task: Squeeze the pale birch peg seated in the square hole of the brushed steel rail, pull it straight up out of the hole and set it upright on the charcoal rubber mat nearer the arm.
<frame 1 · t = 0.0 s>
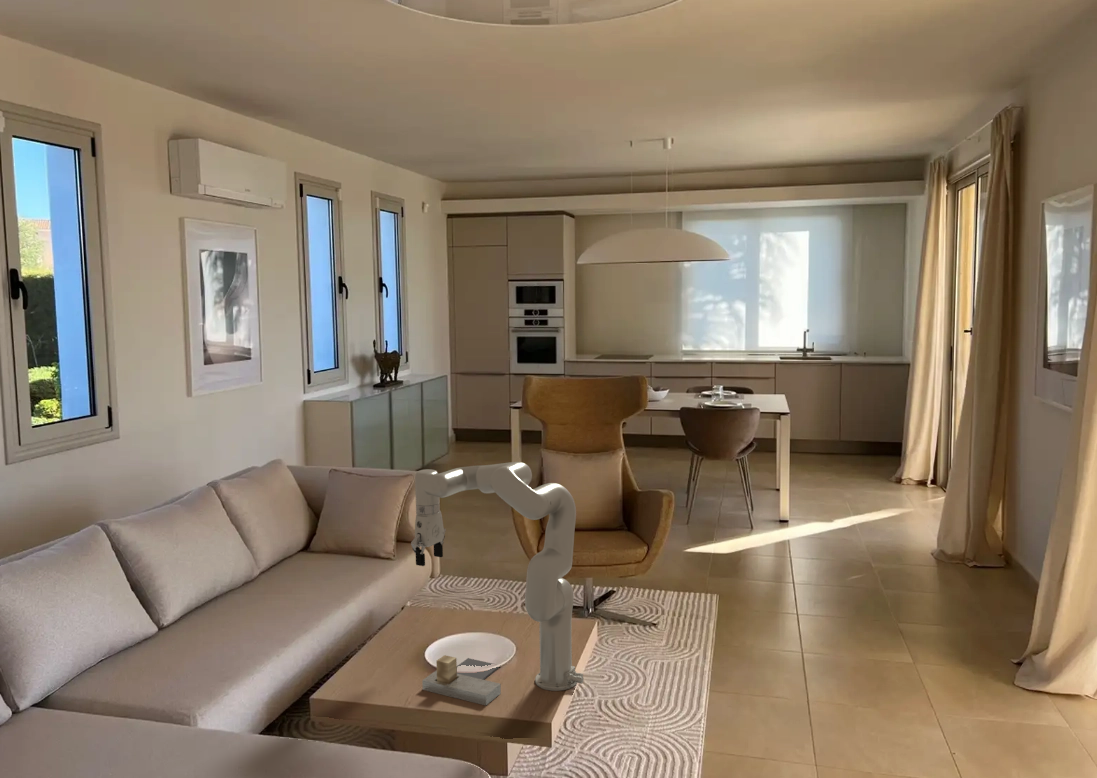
hand: (429, 560, 269), 31 cm above the table, tool pointing down, fingers open, 9 cm apart
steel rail: (461, 691, 246), on the table
birch peg: (447, 688, 249), resting in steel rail
charcoal mat: (473, 671, 260), on the table
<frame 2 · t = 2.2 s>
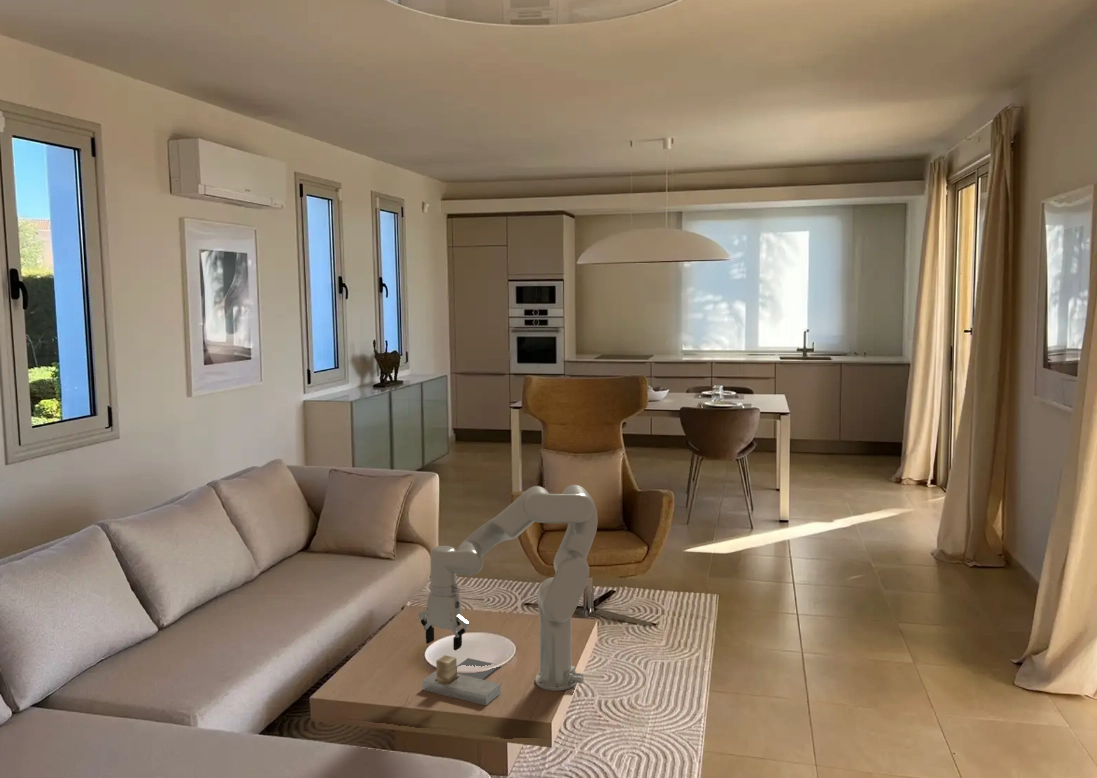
hand: (443, 645, 247), 13 cm above the table, tool pointing down, fingers open, 9 cm apart
nothing on the table moved.
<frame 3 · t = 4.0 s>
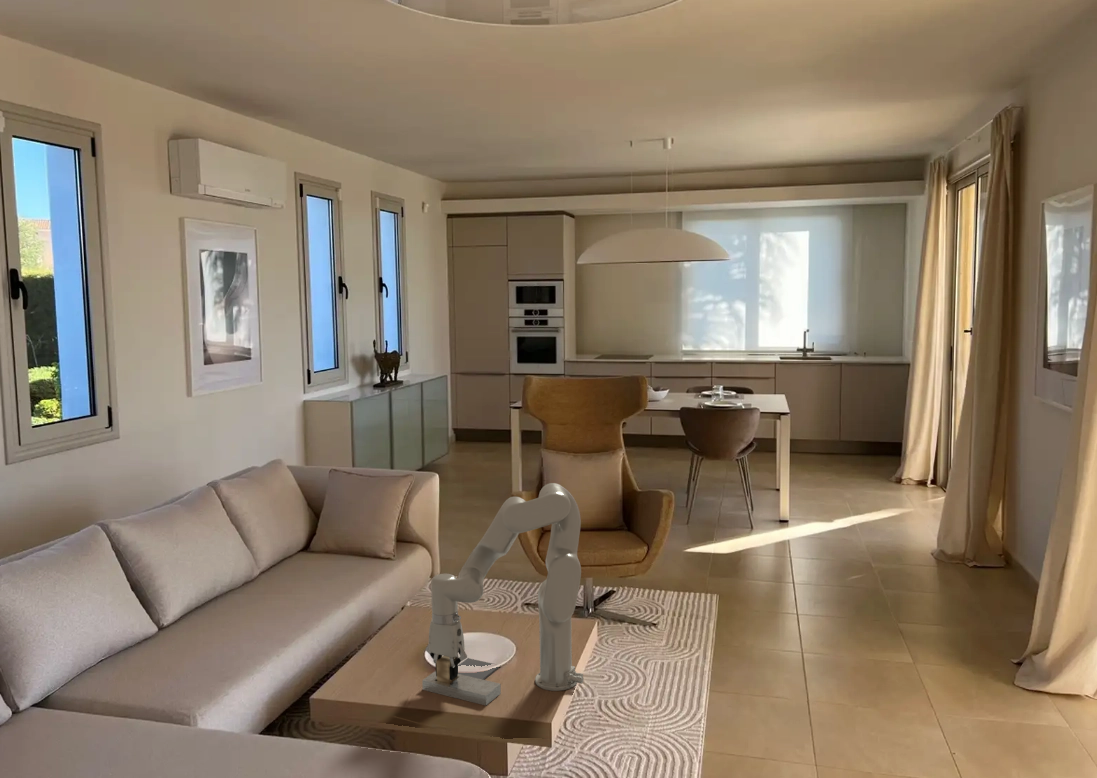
hand: (446, 675, 248), 4 cm above the table, tool pointing down, fingers closed on birch peg, 4 cm apart
birch peg: (447, 688, 249), resting in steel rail, touching gripper
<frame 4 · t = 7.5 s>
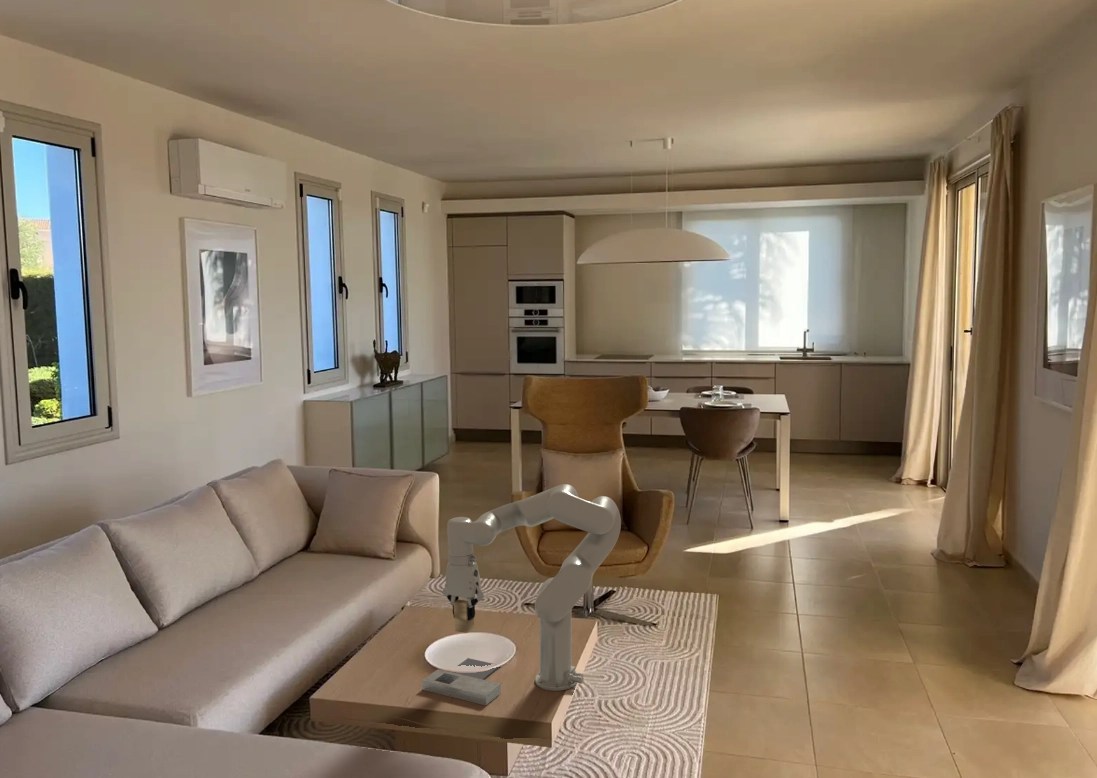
hand: (464, 617, 254), 19 cm above the table, tool pointing down, fingers closed on birch peg, 4 cm apart
birch peg: (464, 629, 254), point 15 cm above the table, touching gripper
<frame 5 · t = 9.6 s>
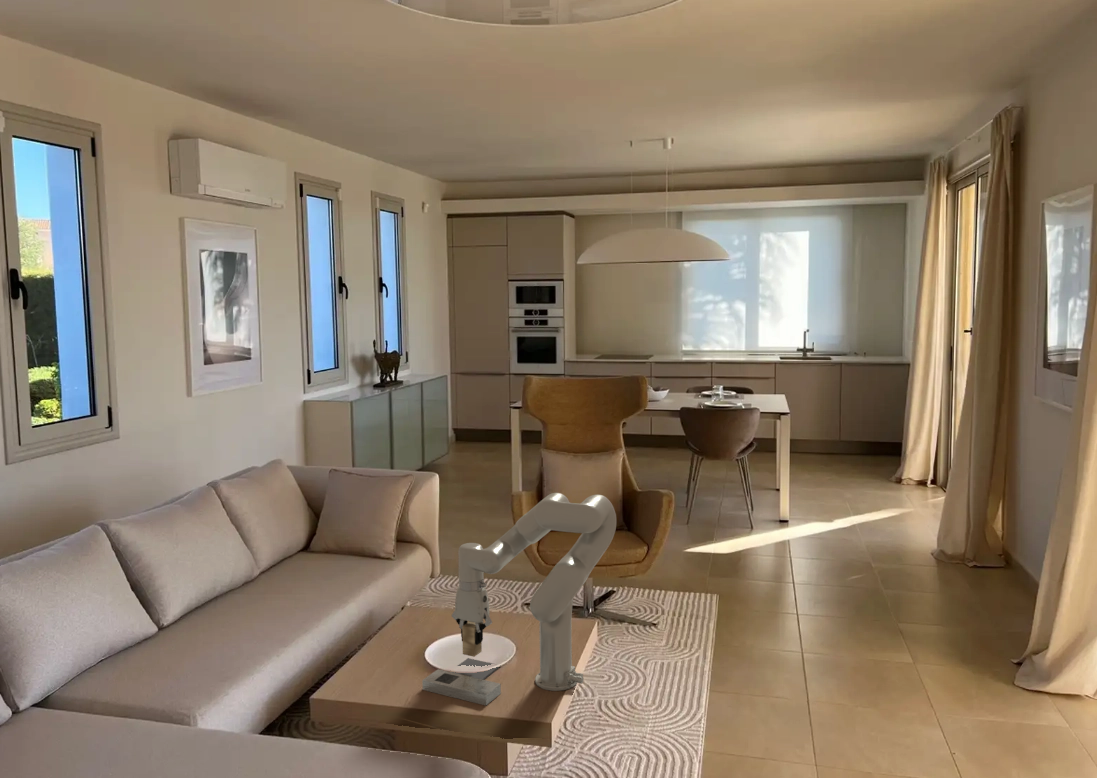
hand: (472, 640, 259), 10 cm above the table, tool pointing down, fingers closed on birch peg, 4 cm apart
birch peg: (472, 652, 259), point 6 cm above the table, touching gripper
when the fingers open (6 cm above the table, at t = 11.1 s): birch peg drops 1 cm, resting on charcoal mat.
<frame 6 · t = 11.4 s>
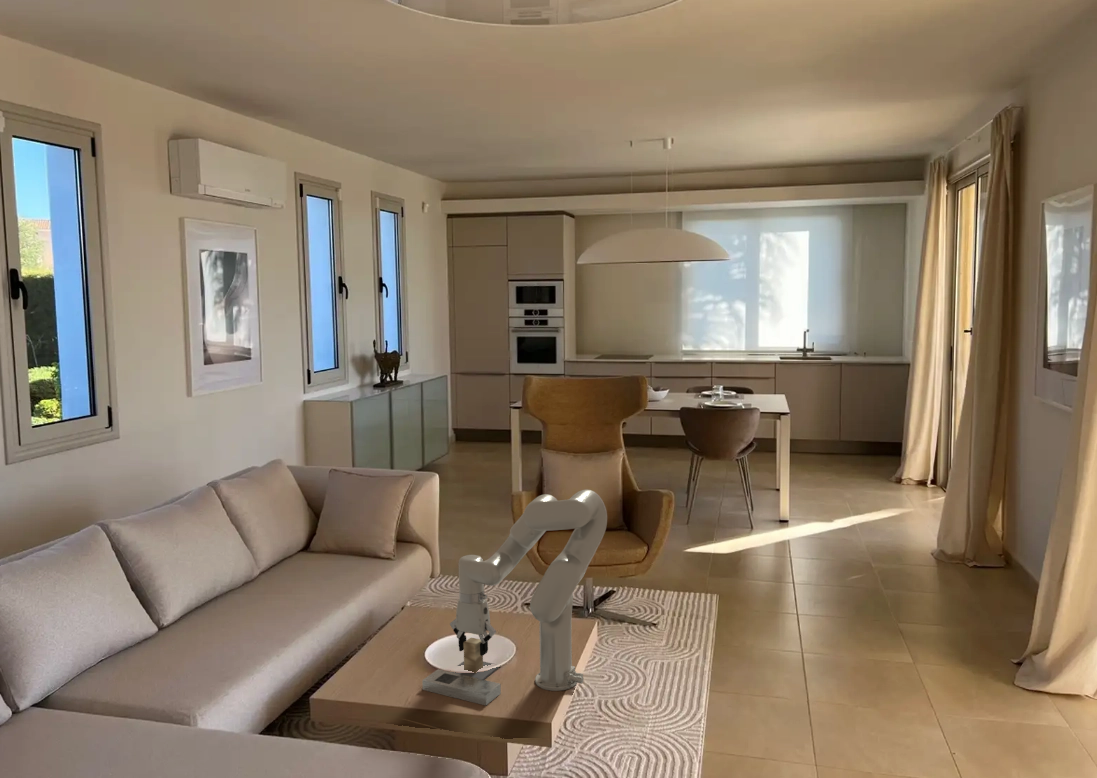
hand: (473, 651, 259), 6 cm above the table, tool pointing down, fingers open, 7 cm apart
birch peg: (473, 669, 260), point 1 cm above the table, touching charcoal mat
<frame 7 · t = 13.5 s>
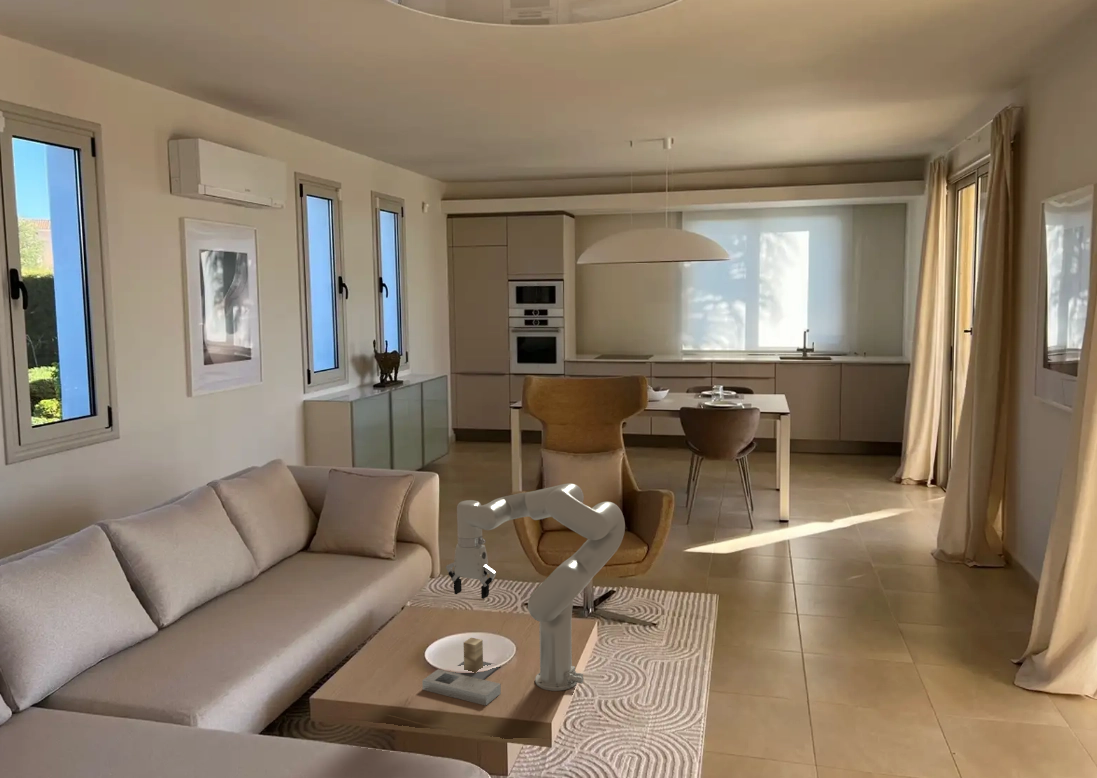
hand: (471, 595, 259), 23 cm above the table, tool pointing down, fingers open, 9 cm apart
nothing on the table moved.
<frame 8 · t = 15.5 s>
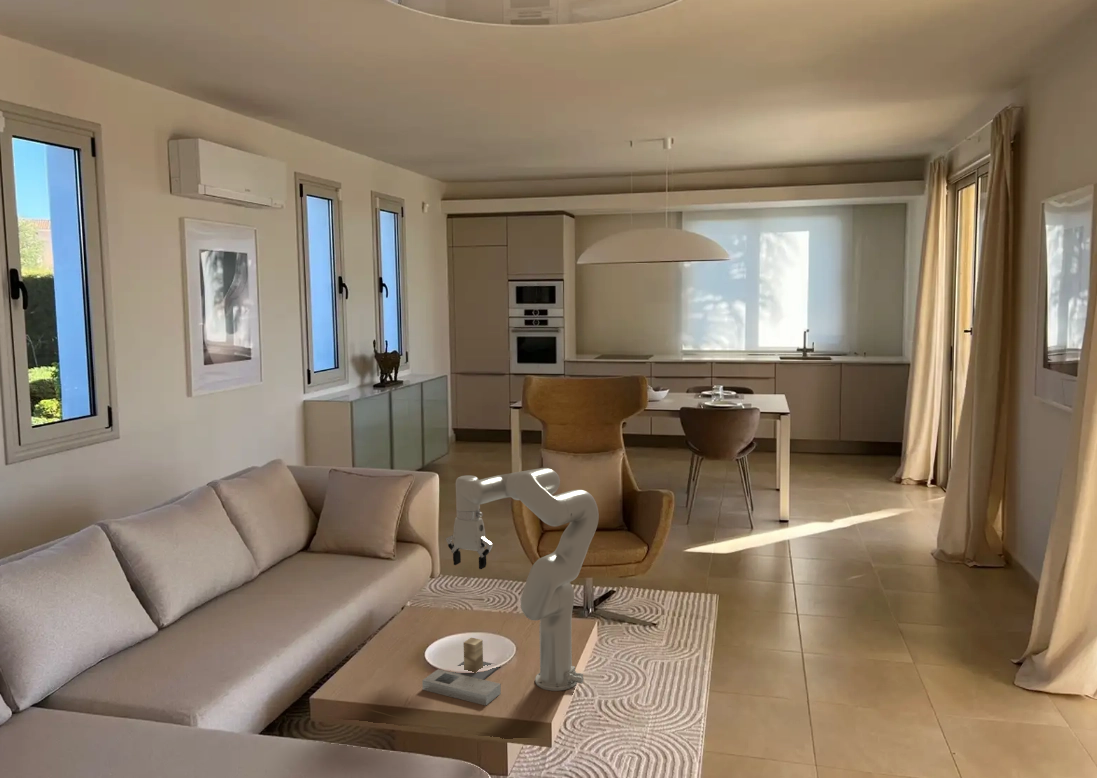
hand: (469, 566, 272), 28 cm above the table, tool pointing down, fingers open, 9 cm apart
nothing on the table moved.
at the end: birch peg inside the target area on the charcoal mat (0.0 cm from its centre), point 0.6 cm above the charcoal mat's base; birch peg tilted 0°; the gripper is holding nothing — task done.
